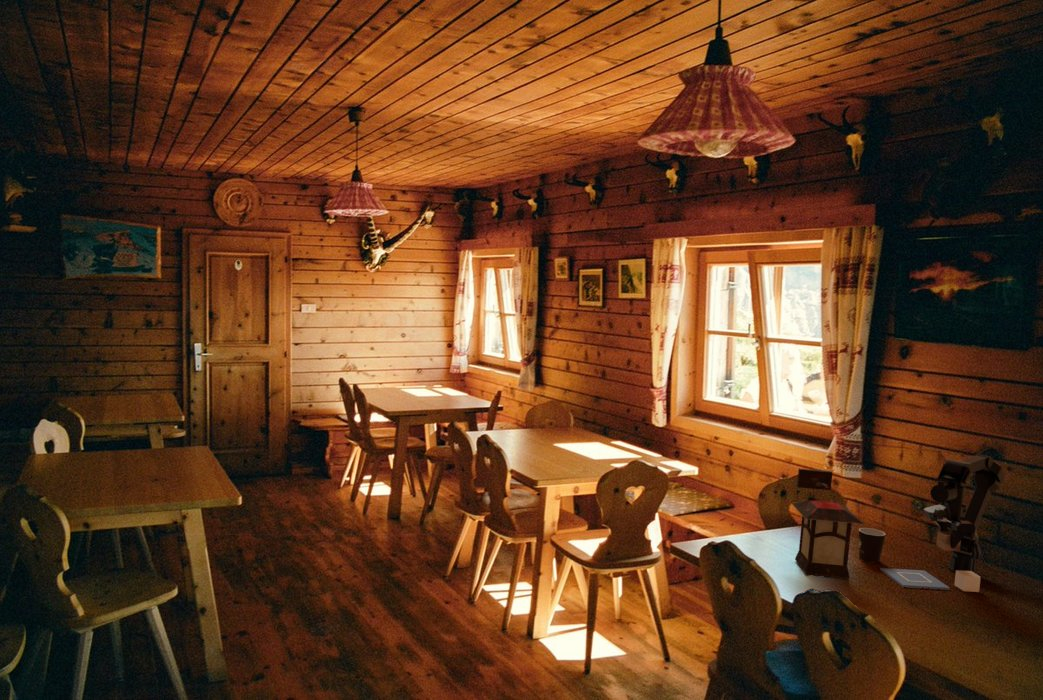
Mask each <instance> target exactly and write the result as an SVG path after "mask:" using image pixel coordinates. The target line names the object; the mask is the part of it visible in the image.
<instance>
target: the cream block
mask: <svg viewBox="0 0 1043 700" xmlns="http://www.w3.org/2000/svg"><path fill="white" fill-rule="evenodd" d="M975 573H976V572H975ZM975 573H973V572H972V571H959V570H956V572H955V576H954V577H955V578H954V586H955V587H957V589H960V591H963V592H972V593H973V592H974V593H975V592H976V593H980V585H981V576H980V575H978V574H975Z"/></svg>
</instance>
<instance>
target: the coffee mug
mask: <svg viewBox="0 0 1043 700" xmlns="http://www.w3.org/2000/svg"><path fill="white" fill-rule="evenodd" d="M885 539H886V532H884V531H882V530H879V529H876V528H871V527H870V528H869V527H862V528H861V527H860V528H859V529H858V558H860V559H862V560H864V561H863V562H865V561H867V562H866V563H869V562H876V563H875V564H877V562H879V563H880V560H881V555H882V551H883V549H884V548H883V547H884V543H885ZM860 559H859V560H860ZM862 560H861V561H862Z"/></svg>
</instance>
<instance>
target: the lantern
mask: <svg viewBox="0 0 1043 700" xmlns="http://www.w3.org/2000/svg"><path fill="white" fill-rule="evenodd" d="M797 472H798V473H797V482H796V487H797V488H799V489H801V488H802V489H813V490H821V493H820V495H819V498H818V500H807V501H806V500H805V501H797V502H791V505H792V506H793V507H794V508H795V509H796V511H797V512H798V513H799V514H800V515H801V526H800V527H801V528H800V535H799V536H800V537H799V545H798V547H799V548H798V552H797V554H796V556H795V558H794V561H796V564H798V566H799V567H800V569H801V570H802V571H803V572H804V574H805V576H809V575H813V576H812V577H819V576H824V577H823V578H829V577H833V579H839V578H842V579H841V580H848V579H850V572H849V568H848V563H849V562H848V560H849V556H850V555H849V552H850V543H851V542H850V541H851V534H852V524H856V525H857V524H859V525H865V523H864V522H863V521H862V520H861V519H860V518H858V516H856V515H855V514H854V513H853V512H852V511H850V510H849V509H848V507H845V506H844V505H841V504H840V503H838V502H836V498H835V495H834V493H833V491H832V482H833V471H832V470H821V469H809V468H808V469H807V468H798V471H797ZM824 491H830V492H831V494H832V497H833V500H834V502H832V501H820V499H821V496H822V495H823V492H824Z"/></svg>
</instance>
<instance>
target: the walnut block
mask: <svg viewBox="0 0 1043 700" xmlns="http://www.w3.org/2000/svg"><path fill="white" fill-rule="evenodd" d="M960 543H961V540H960V542H959V543H958V544H957V546H956V547H955V548H951V532H947V531H939V530H938V531H937V536H936V543H935V544H936V547H938V548H939V549H941V550H942V551H945V552H946V551H947V552H951V551H959V552H960Z"/></svg>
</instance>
